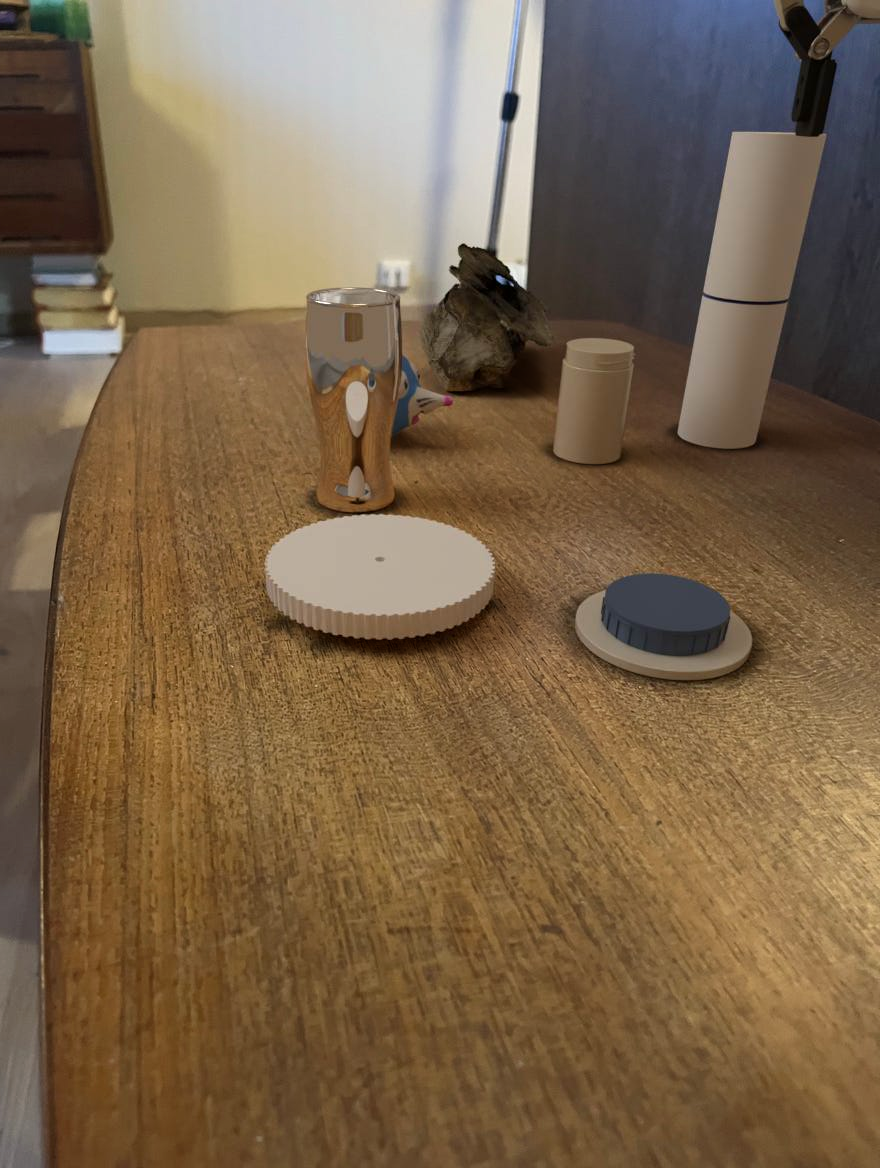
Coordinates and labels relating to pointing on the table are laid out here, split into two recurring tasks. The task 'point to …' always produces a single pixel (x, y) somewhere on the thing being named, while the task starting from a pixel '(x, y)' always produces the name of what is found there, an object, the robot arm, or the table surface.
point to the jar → (593, 400)
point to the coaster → (659, 665)
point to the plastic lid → (379, 576)
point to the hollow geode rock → (481, 324)
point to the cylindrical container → (748, 284)
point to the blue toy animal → (414, 399)
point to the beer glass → (354, 392)
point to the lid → (665, 614)
